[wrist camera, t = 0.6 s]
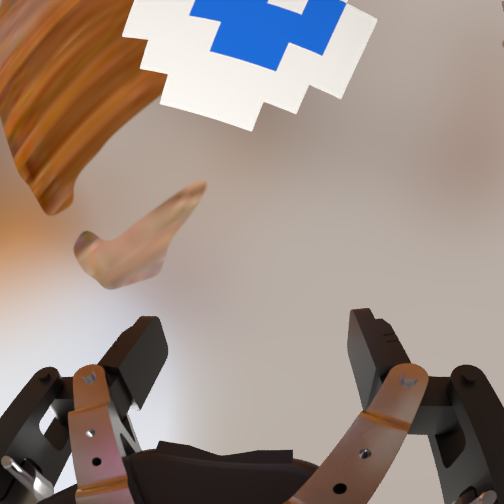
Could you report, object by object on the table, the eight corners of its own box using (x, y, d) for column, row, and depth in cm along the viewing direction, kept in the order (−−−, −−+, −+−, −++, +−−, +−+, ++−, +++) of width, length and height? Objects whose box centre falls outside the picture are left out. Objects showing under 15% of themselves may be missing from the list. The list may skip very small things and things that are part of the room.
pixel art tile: (176, -83, 12) (397, -24, 16) (185, -73, 15) (386, -17, 19) (107, 92, 29) (313, 156, 32) (122, 89, 32) (310, 147, 36)
